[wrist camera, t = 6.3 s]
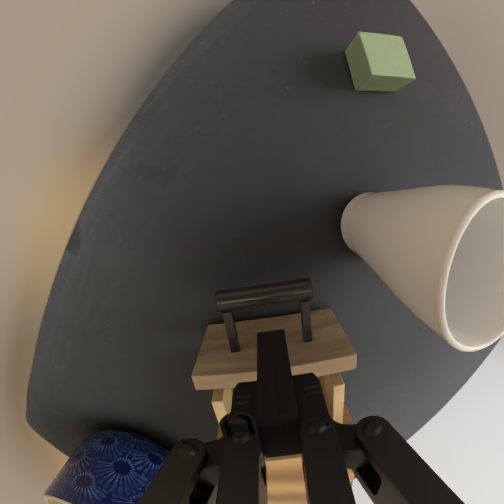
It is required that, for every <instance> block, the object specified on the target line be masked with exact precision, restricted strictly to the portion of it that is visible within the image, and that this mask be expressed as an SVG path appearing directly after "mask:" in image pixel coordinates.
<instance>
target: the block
mask: <svg viewBox="0 0 504 504" xmlns="http://www.w3.org/2000/svg"><path fill="white" fill-rule="evenodd" d="M345 54H346V58H347V61H348V65H349V69H350V72H351V76H352V80H353V84H354V88H355V90H356V91H389V92H395V91H397V90H398V89H400V88H401V87H403V86H405V85H406V84H408V83H409V82H411V81H413V80H414V79H416V78H415V74H414V71H413V68H412V65H411V61H410V58H409V55H408V52H407V50H406V47H405V44H404V41H403V38H402V37H399V36H392V35H385V34H377V33H368V32H358V33H357V35H356V36H355V38H354V39H353V40H352V42H351V43H350V45H349V46H348V48H347V49H346V50H345Z"/></svg>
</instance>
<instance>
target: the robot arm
mask: <svg viewBox="0 0 504 504" xmlns="http://www.w3.org/2000/svg"><path fill="white" fill-rule="evenodd" d="M219 425H220V428H221V431H222V434H223V437H221V438H219V439H217V440H215V441H211V442H207V443H202V442H201V441H199V440H197V439H184V440H181V441H179V442H178V443H176V444H175V445H174V447H173V448H172V450H171V451H170V453H169V454H168V456H167V458H166V459H165V461H164V462H163V464H162V465H161V467H160V469H159V470H158V472H157V473H156V475H155V476H154V478H153V479H152V481H151V483H150V484H149V486H148V487H147V489H146V490H145V492H144V493H143V495H142V496H141V498H140V499H139V501H138V502H137V504H212V503H213V501H214V498H215V496H216V494H217V498H216V504H268V494H267V467H266V463H265V456H266V458H271V457H280V456H289V455H296V454H301V456H302V468H303V474H304V482H305V490H306V498H307V504H356V503H355V499H354V495H353V491H352V487H351V483H350V480H349V476H348V472H347V469H351V470H352V472H353V473H354V475H355V476H356V478H357V479H358V481H359V482H360V483H361V485H362V487H363V488H364V489H365V491H366V492H367V494H368V495H369V497H370V498H371V500H372V501H373V503H374V504H464V503H463V502H462V501H461V500H460V498H459V497H458V496H457V495H456V494H455V493H454V492H453V491H452V490H451V489H450V488H449V487H448V486H447V485H446V484H445V483H444V482H443V481H442V480H441V478H440V477H439V476H438V475H437V474H436V473H435V472H434V471H433V470H432V469H431V468H430V467H429V466H428V464H427V463H426V462H425V461H424V460H423V459H422V458H421V457H420V456H419V455H418V454H417V453H416V452H415V450H414V449H413V448H412V447H411V446H410V445H409V444H408V443H407V442H406V441H405V440H404V439H403V437H402V436H401V435H400V434H399V433H398V432H397V431H396V430H395V429H394V428H393V427H392V426H391V424H390V423H389V422H388V421H387V420H385V419H384V418H383V417H379V416H369V417H365V418H363V419H361V420H360V421H359V422H358V423H357V424H341V423H338V422H336V421H334V420H333V419H332V418H331V417H330V415H329V412H328V409H327V405H326V402H325V398H324V395H323V391H322V388H321V384H320V381H319V378H318V377H317V376H316V375H315V374H314V373H313V372H311V373H305V374H299V375H292V372H291V366H290V360H289V354H288V349H287V343H286V337H285V331H284V329H281V330H274V331H266V332H259V333H257V381H249V382H238V383H237V385H236V386H235V388H234V389H233V395H232V405H231V413H229V414H227V415H225V416H224V417H223V418H222V419H221V420H220V423H219Z"/></svg>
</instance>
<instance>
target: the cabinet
mask: <svg viewBox="0 0 504 504" xmlns="http://www.w3.org/2000/svg"><path fill="white" fill-rule="evenodd" d="M343 424H352V421H351V418H350V416H349V413H348V410H347V408H346V405H345V402H344V409H343ZM221 437H223V434H222V431H221V429H220V426H218V433H217V439H219V438H221ZM265 463H266V467H267V494H268V504H307V498H306V490H305V482H304V474H303V468H302V456H301V454H296V455H289V456H280V457H271V458H266V456H265ZM347 472H348V476H349V480H350V483H351V486H352V482H353V478H354V473H353V472H352V470H351V469H347Z"/></svg>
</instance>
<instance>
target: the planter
mask: <svg viewBox="0 0 504 504" xmlns="http://www.w3.org/2000/svg"><path fill="white" fill-rule="evenodd" d="M169 453H170V451H169V450H167V449H166V448H164V447H163V446H161V445H160V444H158V443H156V442H155V441H153V440H151V439H149V438H147V437H144V436H142V435H139V434H135V433H132V432H128V431H123V430H106V431H101V432H97V433H95V434H93V435H91V436H89V437H88V438H87V439H85V440H84V441H83V442H82V443H81V444H80V445H79V446H78V447H77V449H76V450H75V451H74V453H73V454H72V455H71V457H70V458H69V459H68V461H67V462H66V464H65V465H64V467H63V468H62V469H61V471H60V472H59V473H58V475H57V476H56V478H55V479H54V480H53V482H52V483H51V485H50V486H49V487H48V489H47V490H46V492H45V493H44V494H43V496H42V497H43V500H44V502H45V503H46V504H137V502H138V501H139V499H140V498H141V496H142V495H143V493H144V492H145V490H146V489H147V487H148V486H149V484H150V483H151V481H152V479H153V478H154V476H155V475H156V473H157V472H158V470H159V469H160V467H161V465H162V464H163V462H164V461H165V459H166V458H167V456H168V454H169Z"/></svg>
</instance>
